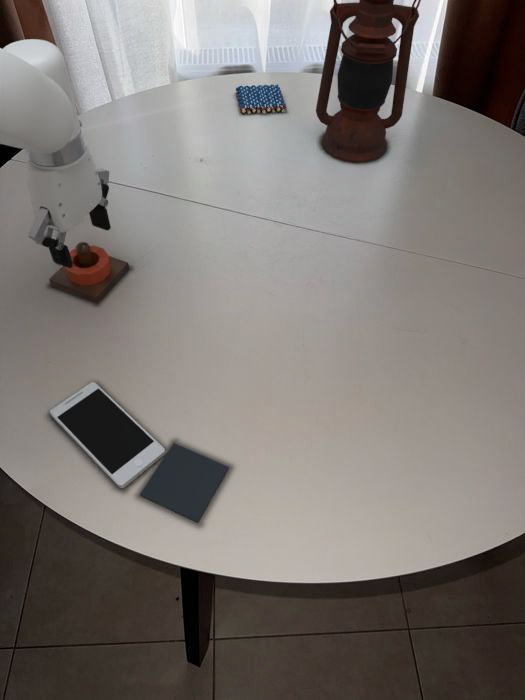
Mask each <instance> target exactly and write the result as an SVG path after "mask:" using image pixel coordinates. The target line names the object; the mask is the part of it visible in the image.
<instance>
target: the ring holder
mask: <svg viewBox="0 0 525 700" xmlns="http://www.w3.org/2000/svg"><path fill="white" fill-rule="evenodd" d="M89 245H90V244H89V243H88V242H86V241H80V242H78V243H77V244H76V245H75V248H76V252H77V253H78V257H79V260H80V264H81V265H80V266H79V268H89V267H92V266H94V265H96V264H97V263H95V262H93V258H92V254H91V251H90V250H91V248H90V246H89ZM109 260H110V264H111V270H110V274H109V275H108V276H107V277H106V278H105V279H104V280H103V281H101V282H99V283H96V284H94V285H79V284H76V283H73V282H71V280H70V279H69V278H68V276H67V274H66V271H65V268H64V266H62V265H61V267H60V268H59V269H58V270H57V271H55V273H54V274H53V275H52V276H51V277H50V278H48V281H49V284H50V286H51V287H52V288H55V289H58V290H61V291H63V292H65V293H69V294H70V295H74V296H76V297H79V298H81V299H84V300H86V301H89V302H92V303H94V304H97V305H98V304H99V303H100V302H101V301H102V300H103V299H104V298H105V297H106V296H107V294H108V293H109V292H110V291H112V289H113V288H114V287H115V285H117V283H119V281H120V280H121V279H123V277H124V276H125V275H126V274H127V273H128V271H130V269H131V268H130V264H129V262H128V261H127V260H122V259H120V258H117V257H114V256H111V255H109Z"/></svg>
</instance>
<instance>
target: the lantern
mask: <svg viewBox="0 0 525 700" xmlns="http://www.w3.org/2000/svg"><path fill="white" fill-rule="evenodd" d="M421 1H422V0H413V2H412V4H411V6H409V5H401V4H397V3H394V2H395V0H359V1H358V2H340V3H338V1H337V0H333V1H332V2H333V5H332V6H331V8H330V10H329V17H330V28H329V33H328V39H327V43H326V50H325V54H324V55H325V56H324V60H323V61H324V62H323V66H322V71H321V72H322V73H321V79H320V83H319V90H318V94H317V95H318V96H317V101H316V105H315V106H316V107H315V114H316V117H317V119H318V120H319V122H320V123H322V124H323V125H325V126H326V128H325V129H326V130H325V132H324V133H323V134H322V137H321V141H320V144H321V146H322V149H323V150H324V151H325V153H326V154H327V155H329V156H331V157H332V158H334V159H337V160H339V161H342V162H346V163H353V164H362V163H363V164H365V163H371V162H375V161H377V160H378V159H380V158H383V156H384V155H385V153H386V152H387V150H388V142H387V140H386V137H387V130H388V129H389V128H392V127H394V126H395V125H396V124H397V123H398V122H399V121H400V120H401V118H402V117H403V111H404V103H405V96H406V89H407V82H408V76H409V66H410V60H411V53H412V45H413V39H414V38H413V37H414V31H415V26H416V25H417V23H418V22H417V21H418V20H419V17H420V13H419V7H420V4H421ZM415 5H416V6H415ZM352 17H354V19H353V20H352V21H351V22H350V23H349V24H348V26H347V27H348V30H349V31H350V32H351V33H352V34H351V35H350V36H348V37H347V35H346V33H345V32H344V29H343V27H344V24H345V22H346V21H347V20H349V19H350V18H352ZM393 19H395V20H397V21H398V22H399V23H400V25H401V31H400V34H399V36H398V37H397V38H396V39H395V40H394V41H392V40H391V39H390V37H393V36H394V35H395V34H396V33H397V28H396V26H395V25H394V22H393ZM341 37H343V38H344V40H343V41H342V43H341ZM399 40H400V41H399ZM398 41H399V48H398V47H397V45H396V43H398ZM340 43H341V46H340ZM339 48H340V52H341V54H342V57H341V59H340V63H339V68H338V71H337V74H336V75H337V76H336V79H337V100H338V102H339V106H340V110H339V111H337V112H336V113H334V114H333V115H330V114H329V113H328V105H329V100H330V95H331V90H332V84H333V79H334V74H335V69H336V63H337V58H338V52H339ZM397 53H398V54H397ZM397 55H398V56H397ZM396 57H397V63H396V64H397V65H396V73H395V80H394V81H395V82H394V88H393V96H392V97H393V98H392V103H391V104H392V106H391V112H390V113H391V114H390V115H389V116H388V117H386V118H382V117H381V116H380V115H379V112H380V110H381V107H383V105H384V104H385V103H386V99H387V96H388V95H389V91H390V89H391V86H392V82H393V75H394V59H395V58H396Z"/></svg>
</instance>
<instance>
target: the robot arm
mask: <svg viewBox="0 0 525 700" xmlns="http://www.w3.org/2000/svg"><path fill="white" fill-rule="evenodd" d="M82 127H83V123H82V121H81V120H80V119H79V115H78V111H77V106H76V101H75V98H74V94H73V89H72V86H71V82H70V77H69V73H68V69H67V64H66V61H65V58H64V55H63V53H62V51H61V50H60V49H59V47H58V46H57V45H55V44H54V43H52V42H50V41H48V40H45V39H39V38H29V39H21V40H17V41H14V42H10V43H9V44H7V45H5V46H4V47H3V48H1V47H0V145H3V146H4V145H5V146H8V147H12V148H17V149H21V150H25V153H26V156H27V159H28V161H27V162H26V163H25V179H26V184H27V191H28V194H29V199H30V203H31V206H32V210H33V213H34V216H35V220H34V221H33V223H32V225H31V227H30V229H29V231H28V233H27V236H28V238H30V239H31V240H32V241H33V242H35V244H37V245H40V246H43V247H45V248H48V250H49V252H50V255H51V256H50V257H51V259H52V262H54V264H56V265H58V266H61V267H62V266H65V267H68V268H71V267H72V266H73V262H72V259H71V256H70V253H69V252H70V250H69V246H68V245H66V244H65V241H66V235H67V232H68V231H71V230H72V229H73V228H74V227H76V226H77V225H78V224H79V223H80V222H81V221H82V220H83V219H84V218H85V217H86V216H87V215H89V218H90V222H91V225H92V226H93V227H96V228H98V229H101V230H104V231H110V229H111V222H110V218H109V213H108V209H107V207H108V205H109V200H108V199H107V198H108V194H109V192H110V186H109V183H110V182H109V181H110V171H109V170H107V169H104V168H97V166H96V164H95V161H94V159H93V155H92V153H91V151H90V149H89V147H88V144H87V143H86V142H85V140H84V136H83V131H82ZM54 231H57V235H56V238H53V233H54Z"/></svg>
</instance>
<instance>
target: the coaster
mask: <svg viewBox="0 0 525 700" xmlns="http://www.w3.org/2000/svg"><path fill="white" fill-rule="evenodd" d="M229 469H230V467H229V466H228V465H227V464H224V463H222V462H219V461H217V460H214V459H212V458H210V457H208V456H205V455H203V454H200V453H198V452H196V451H193V450H191V449H189V448H187V447H184V446H182V445H180V444H178V443H176V442H173V443H172V444H171V446H170V447H169V449H168V451H167V452H166V453H165V455H164V456H163V457H162V460H161V461H160V462H159V464H158V466H157V467H156V469H155V471H154V472H153V473H152V475H151V476H150V478H149V479H148V481H147V482H146V484H145V485H144V487H143V489H142V491H141V492H140V494H139V496H140V497H143V498H144V499H146V500H149V501H150V502H152V503H155V504H157V505H159V506H161V507H163V508H166V509H167V510H170V511H172V512H174V513H176V514H178V515H180V516H182V517H184V518H187V519H188V520H190V521H193V522H195V523H199V522H200V520H201V518H202V517H203V515H204V513H205V511H206V509H207V508H208V506H209V504H210V502H211V500H212V499H213V497H214V495H215V493H216V492H217V490H218V489H219V486H221V485H220V484H221V483H222V482H223V480H224V479H225V478H224V477H226V474H227V472H228V471H229Z"/></svg>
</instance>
